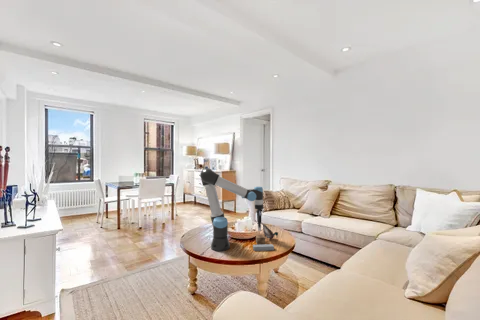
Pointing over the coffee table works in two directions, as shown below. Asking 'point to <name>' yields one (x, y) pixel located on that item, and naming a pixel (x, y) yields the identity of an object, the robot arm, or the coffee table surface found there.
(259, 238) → the walnut block
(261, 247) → the board
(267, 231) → the decorative duck model
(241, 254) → the coffee table surface
